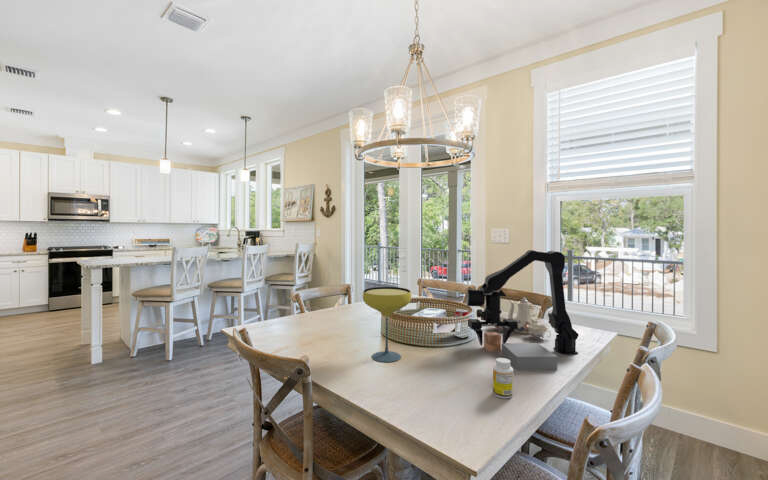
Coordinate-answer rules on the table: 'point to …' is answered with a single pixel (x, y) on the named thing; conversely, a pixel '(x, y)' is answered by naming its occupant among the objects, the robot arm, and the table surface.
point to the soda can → (460, 312)
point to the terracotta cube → (492, 341)
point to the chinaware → (526, 320)
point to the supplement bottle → (503, 378)
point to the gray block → (529, 356)
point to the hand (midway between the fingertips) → (492, 345)
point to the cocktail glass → (386, 311)
